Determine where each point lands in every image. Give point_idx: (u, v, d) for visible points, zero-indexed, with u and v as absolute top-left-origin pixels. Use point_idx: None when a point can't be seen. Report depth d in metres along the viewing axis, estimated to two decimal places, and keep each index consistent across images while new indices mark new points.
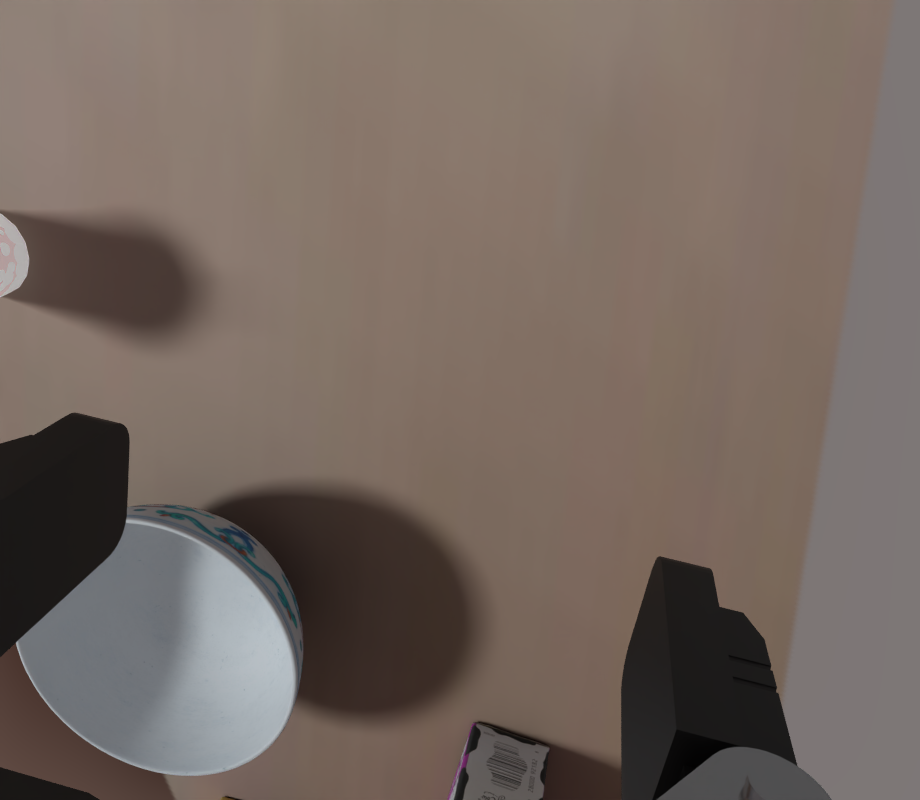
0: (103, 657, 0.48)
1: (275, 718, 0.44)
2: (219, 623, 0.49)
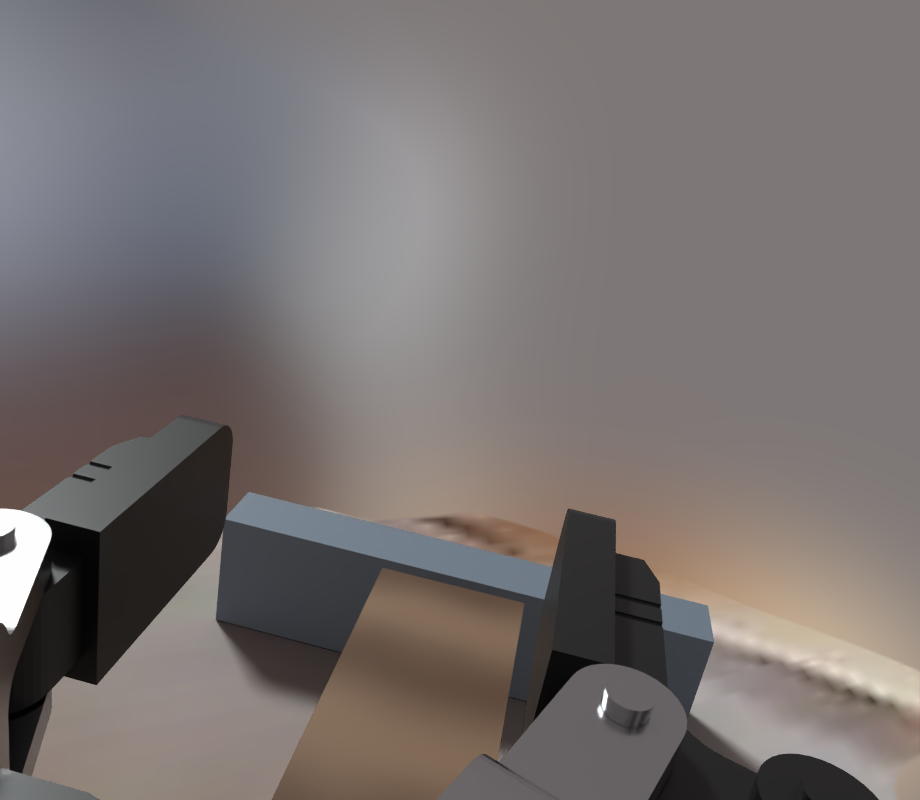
0: None
1: None
2: None
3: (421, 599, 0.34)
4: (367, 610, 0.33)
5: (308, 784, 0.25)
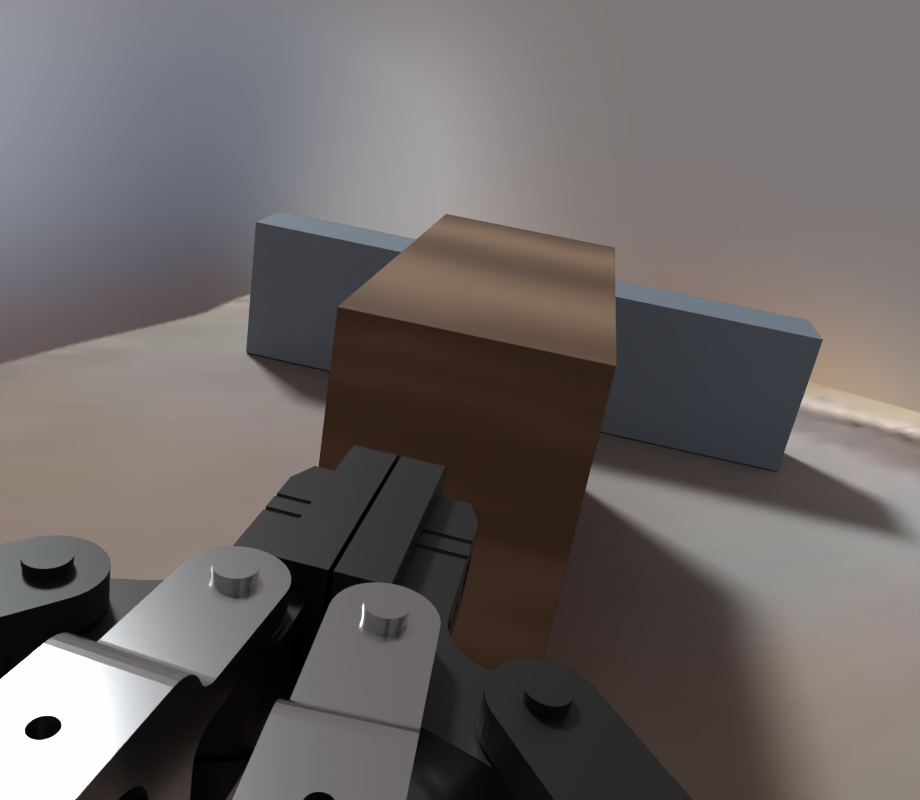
0: None
1: None
2: None
3: (495, 232, 0.29)
4: (435, 229, 0.27)
5: (389, 297, 0.20)
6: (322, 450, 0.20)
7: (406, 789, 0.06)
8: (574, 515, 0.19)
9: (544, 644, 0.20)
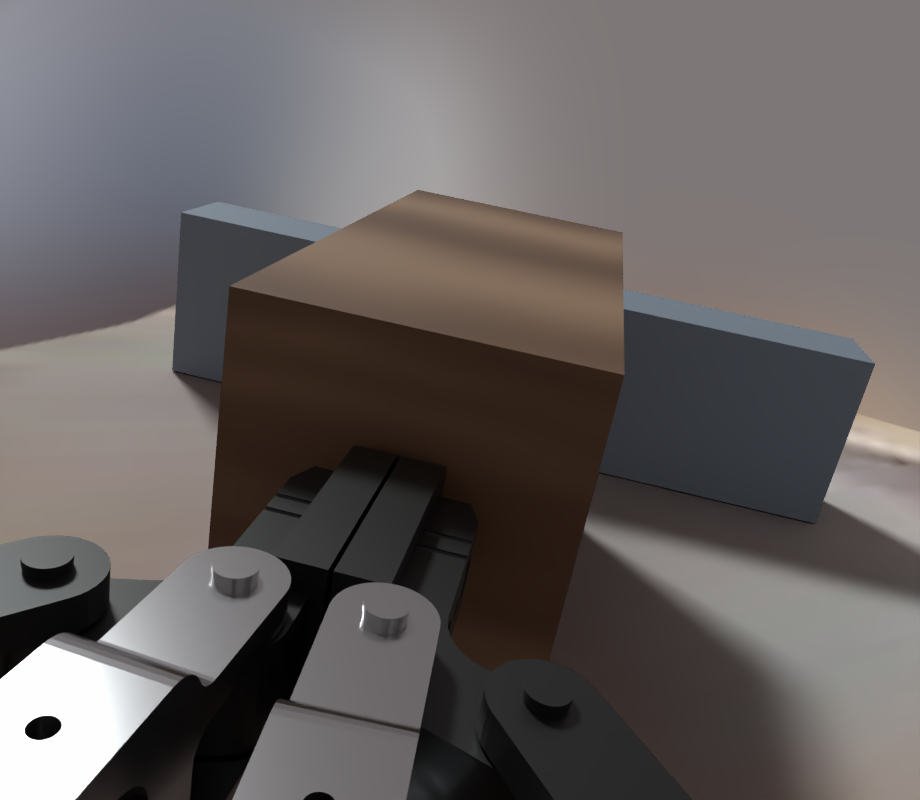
0: None
1: None
2: None
3: (476, 210, 0.23)
4: (399, 204, 0.22)
5: (311, 277, 0.14)
6: (215, 487, 0.14)
7: (406, 789, 0.06)
8: (563, 583, 0.14)
9: None
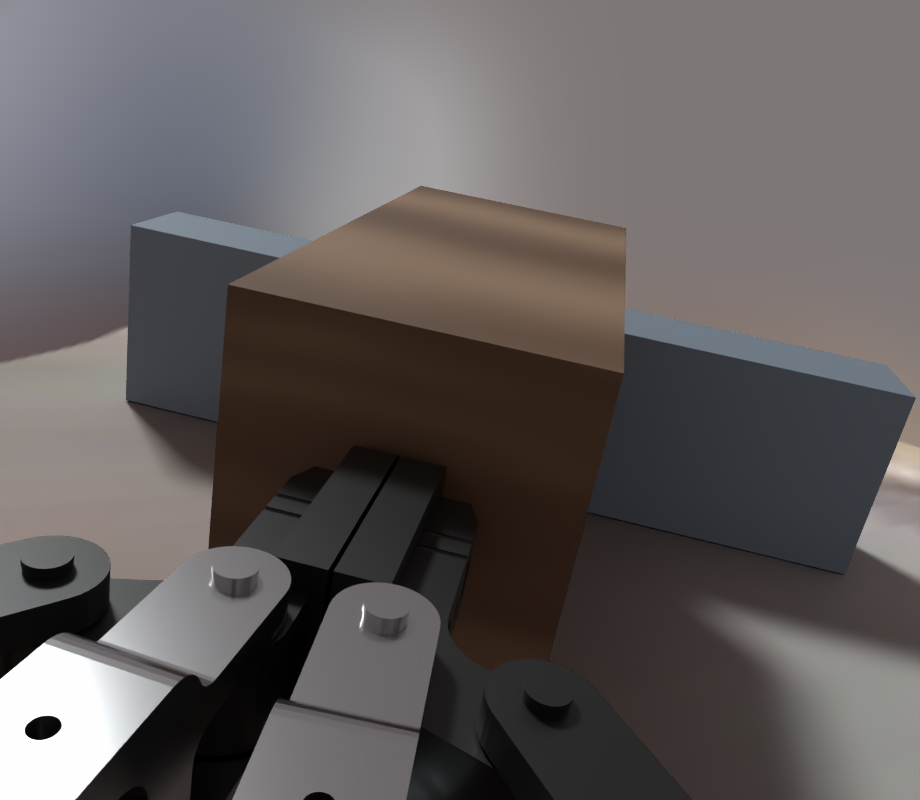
0: None
1: None
2: None
3: (479, 206, 0.23)
4: (401, 200, 0.22)
5: (310, 275, 0.14)
6: (215, 485, 0.14)
7: (406, 789, 0.06)
8: (562, 582, 0.14)
9: None
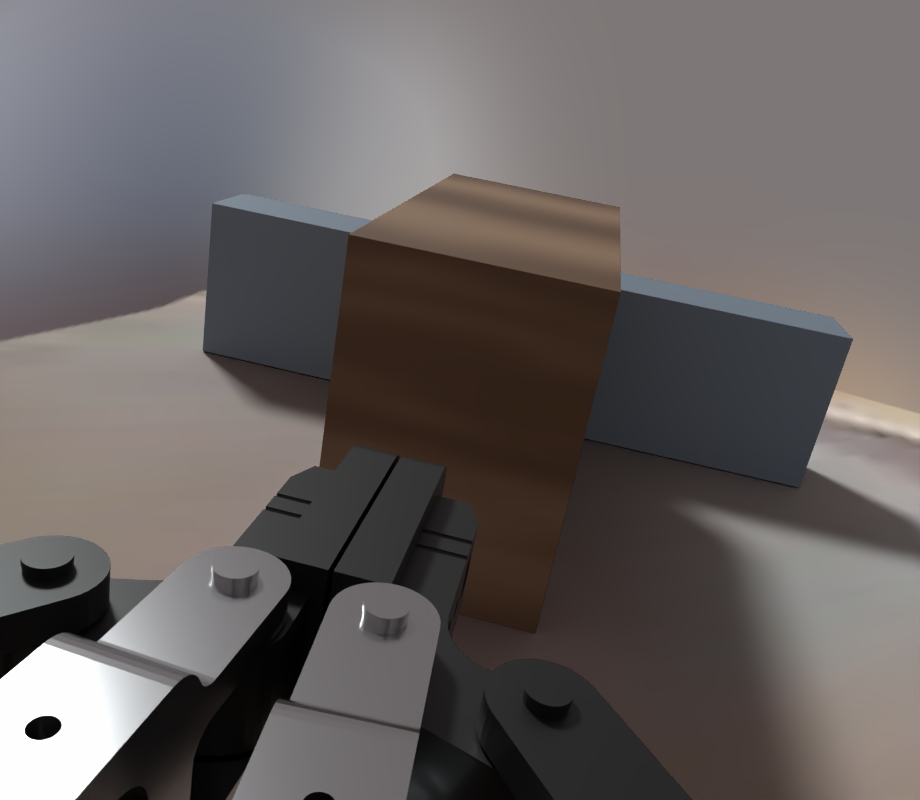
0: None
1: None
2: None
3: (502, 189, 0.29)
4: (443, 184, 0.28)
5: (398, 231, 0.20)
6: (332, 379, 0.20)
7: (406, 789, 0.06)
8: (578, 443, 0.19)
9: (548, 575, 0.21)
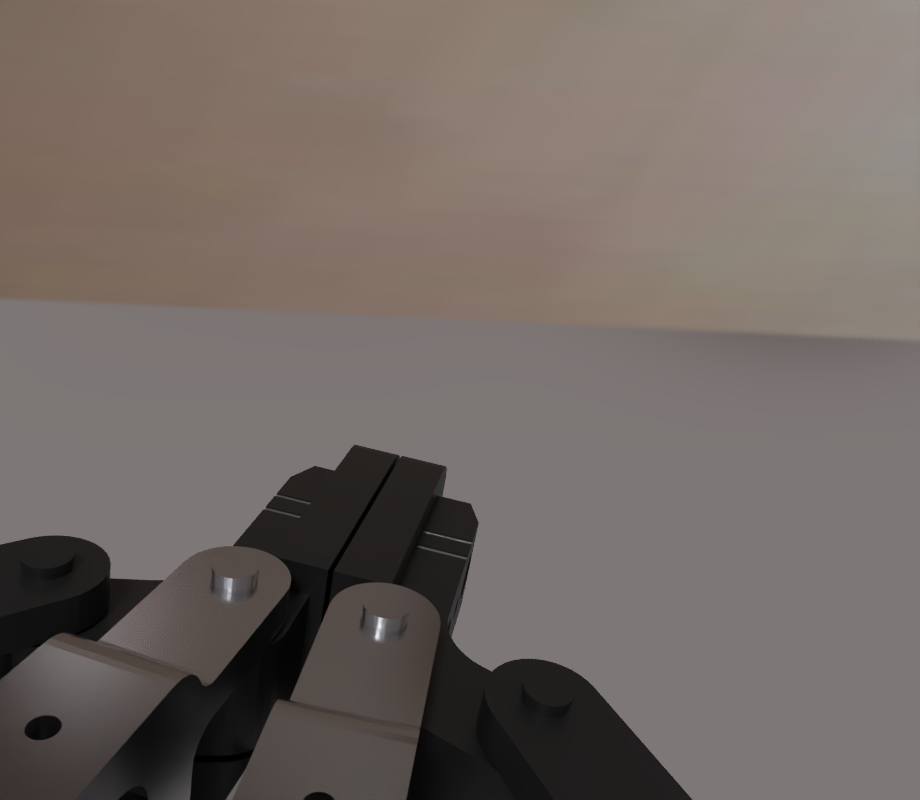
0: None
1: None
2: None
3: None
4: None
5: None
6: None
7: (406, 789, 0.06)
8: None
9: None
